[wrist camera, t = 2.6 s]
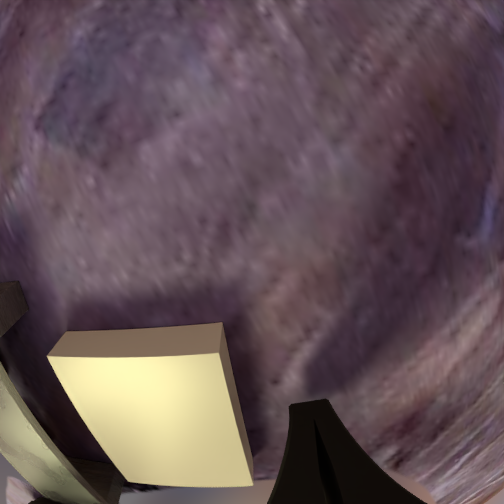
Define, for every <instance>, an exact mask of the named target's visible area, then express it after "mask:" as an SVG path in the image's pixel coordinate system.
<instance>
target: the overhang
mask: <svg viewBox="0 0 504 504" xmlns="http://www.w3.org/2000/svg"><path fill="white" fill-rule="evenodd" d="M28 310H29V308H28V306H27V303H26V301H25V298H24V295H23V293H22V290H21V287H20V284H19V282H18V281H13V282H4V283H0V338H1V337H2V336H3V334H4V333H5V332H6V331H7V330H8V329H9V328H10V327H11V326H12V325H13V324H14V323H15V322H16V321H17V320H18V319H19V318H21V317H22V316H23V315H24V314H25V313H26V312H27V311H28ZM0 452H1V454H3V456H4V457H5V458H6V459H7V460H8V461H9V463H10V464H11V465H12V466H13V467H14V468H15V469H16V470H17V471H18V472H19V473H20V474H21V475H22V476H23V477H24V478H25V479H26V480H27V481H28V482H29V483H30V484H31V485H32V486H33V487H34V488H35V489H36V490H37V491H38V492H39V493H41V494H42V495H43V496H44V497H45V498H48V499H51V500H54V501H57V502H61V503H64V504H118V502H119V498H120V495H121V491H122V487H123V484H124V480H125V477H124V476H123V474H122V473H121V472H120V471H119V470H118V468H117V467H116V466H115V464H108V463H102V462H95V461H90V460H84V459H79V458H74V457H69V456H65V455H63V454H62V453H61V452H60V450H59V449H58V448H57V447H56V445H55V444H54V443H53V442H52V440H51V439H50V438H49V436H48V435H47V434H46V432H45V431H44V430H43V428H42V427H41V426H40V424H39V423H38V421H37V420H36V419H35V417H34V416H33V414H32V413H31V411H30V410H29V408H28V407H27V405H26V404H25V402H24V401H23V399H22V398H21V396H20V395H19V393H18V391H17V390H16V388H15V386H14V385H13V383H12V381H11V380H10V378H9V376H8V375H7V373H6V371H5V369H4V368H3V366H2V364H1V362H0Z"/></svg>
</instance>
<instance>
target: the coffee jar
mask: <svg viewBox="0 0 504 504" xmlns="http://www.w3.org/2000/svg"><path fill="white" fill-rule="evenodd" d="M28 504H64V503H61V502H57V501H54V500H51V499H48V498H44V497H41V498H37V499H36V500H34V501H31V502H30V503H28Z"/></svg>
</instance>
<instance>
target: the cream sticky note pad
mask: <svg viewBox="0 0 504 504" xmlns="http://www.w3.org/2000/svg"><path fill="white" fill-rule="evenodd" d="M47 358H48V360H49V362H50V364H51V366H52V368H53V369H54V371H55V373H56V375H57V377H58V379H59V381H60V382H61V384H62V386H63V388H64V390H65V391H66V393H67V395H68V396H69V398H70V400H71V402H72V403H73V405H74V406H75V408H76V410H77V411H78V413H79V414H80V416H81V418H82V419H83V421H84V422H85V424H86V425H87V427H88V428H89V430H90V431H91V433H92V434H93V436H94V437H95V439H96V440H97V441H98V443H99V444H100V446H101V447H102V448H103V450H104V451H105V453H106V454H107V455H108V457H109V458H110V459H111V461H112V462H113V463H114V464H115V466H116V467H117V468H118V470H119V471H120V472H121V473H122V474H123V476H124V477H125V478H126V479H127V481H128V482H135V483H143V484H153V485H165V486H182V487H240V486H253V485H254V484H253V458H252V454H251V449H250V445H249V441H248V437H247V433H246V429H245V424H244V420H243V416H242V411H241V407H240V403H239V398H238V394H237V389H236V385H235V380H234V376H233V371H232V366H231V362H230V357H229V352H228V347H227V342H226V338H225V333H224V328H223V323H222V322H220V323H210V324H199V325H187V326H173V327H159V328H143V329H124V330H100V331H66V332H65V333H64V334H63V336H62V337H61V338H60V340H59V341H58V342H57V343H56V345H55V346H54V347H53V349H52V350H51V351H50V352H49V354H48V355H47Z"/></svg>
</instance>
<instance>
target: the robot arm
mask: <svg viewBox="0 0 504 504" xmlns="http://www.w3.org/2000/svg"><path fill="white" fill-rule="evenodd" d="M267 504H427V503H425V502H423V501H422V500H420V499H419V498H417V497H416V496H415V495H413V494H411V493H410V492H409V491H407V490H406V489H405V488H403V487H402V486H401V485H399V484H398V483H397V482H396V481H394V480H393V479H392V478H391V477H390V476H389V475H388V474H386V473H385V472H384V471H383V470H382V469H381V468H380V467H379V466H378V465H377V464H376V463H375V462H374V461H373V460H372V459H371V458H370V457H369V456H368V455H367V454H366V452H365V451H364V450H363V449H362V448H361V447H360V446H359V444H358V443H357V442H356V441H355V439H354V438H353V437H352V435H351V434H350V433H349V432H348V430H347V429H346V428H345V426H344V425H343V423H342V422H341V420H340V419H339V417H338V416H337V414H336V413H335V411H334V409H333V407H332V406H331V404H330V402H329V400H327V399H321V400H315V401H308V402H302V403H295V404H291V405H290V406H289V430H288V437H287V442H286V447H285V452H284V456H283V460H282V463H281V467H280V470H279V474H278V477H277V480H276V483H275V485H274V488H273V490H272V493H271V495H270V498H269V500H268V502H267Z"/></svg>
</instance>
